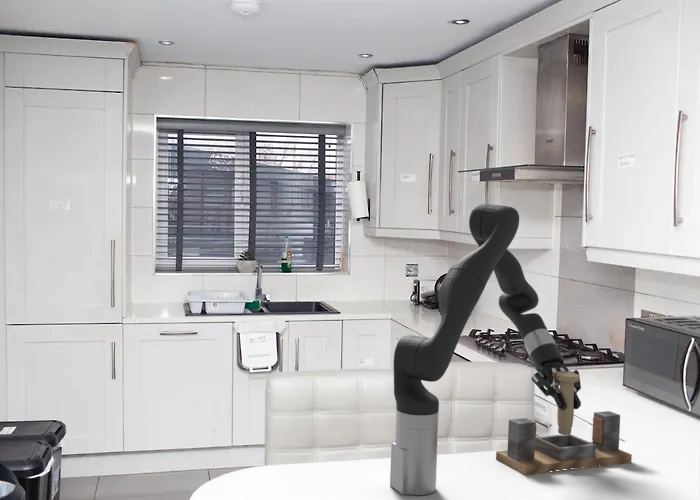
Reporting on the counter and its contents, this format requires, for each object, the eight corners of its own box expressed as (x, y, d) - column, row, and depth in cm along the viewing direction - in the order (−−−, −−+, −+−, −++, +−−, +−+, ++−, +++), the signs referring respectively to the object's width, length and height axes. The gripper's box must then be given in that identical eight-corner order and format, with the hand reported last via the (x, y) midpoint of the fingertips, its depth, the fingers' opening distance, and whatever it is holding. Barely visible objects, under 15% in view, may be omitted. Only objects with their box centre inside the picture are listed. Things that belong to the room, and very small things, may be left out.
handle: (567, 429, 188) (570, 371, 187) (579, 437, 182) (582, 376, 181) (549, 430, 187) (552, 371, 186) (561, 437, 181) (564, 376, 180)
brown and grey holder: (524, 475, 173) (526, 428, 172) (495, 459, 184) (497, 415, 183) (631, 462, 185) (633, 418, 184) (598, 448, 196) (600, 407, 196)
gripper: (526, 342, 187) (555, 401, 177) (571, 341, 193) (602, 398, 182) (513, 359, 193) (540, 418, 182) (557, 357, 198) (586, 414, 187)
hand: (571, 407), depth 182 cm, fingers closed on handle, 3 cm apart
